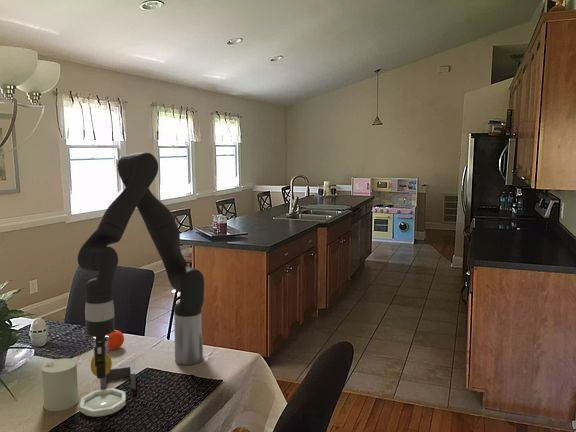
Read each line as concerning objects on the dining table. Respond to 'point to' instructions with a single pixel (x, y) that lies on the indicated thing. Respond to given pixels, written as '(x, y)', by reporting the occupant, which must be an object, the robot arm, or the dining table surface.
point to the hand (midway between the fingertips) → (101, 372)
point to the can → (60, 384)
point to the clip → (121, 374)
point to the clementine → (115, 339)
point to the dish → (102, 402)
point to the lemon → (107, 365)
